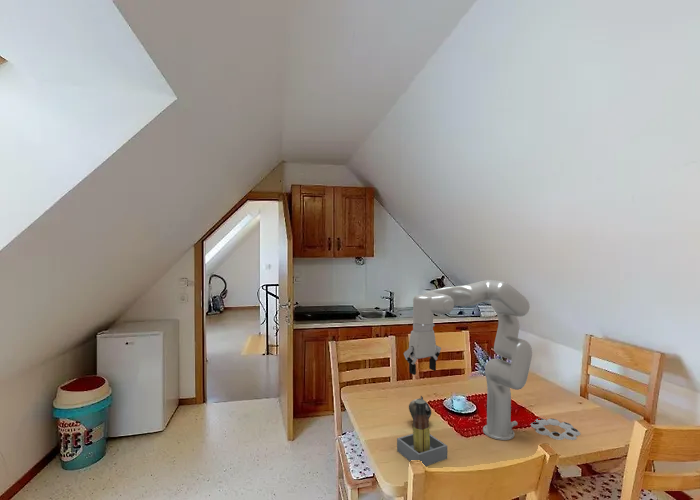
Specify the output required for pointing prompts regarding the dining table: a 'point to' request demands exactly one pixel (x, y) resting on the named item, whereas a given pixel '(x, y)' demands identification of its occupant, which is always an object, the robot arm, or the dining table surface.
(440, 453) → the box
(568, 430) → the grey ring with holes
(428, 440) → the sauce bottle
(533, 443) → the dining table surface
